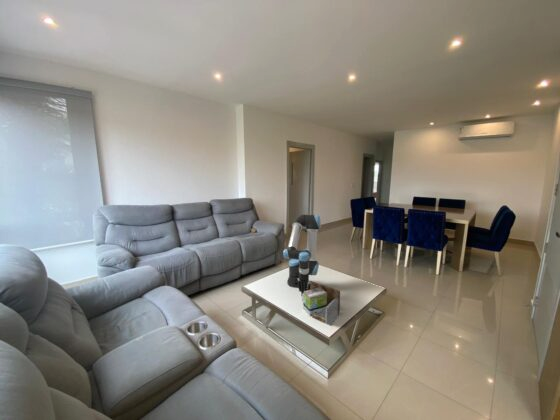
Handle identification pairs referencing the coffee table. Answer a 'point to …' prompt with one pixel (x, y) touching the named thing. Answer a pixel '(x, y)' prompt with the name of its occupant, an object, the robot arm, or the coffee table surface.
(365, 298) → the coffee table surface
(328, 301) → the shelf wall
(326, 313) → the bookend
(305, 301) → the tea box
